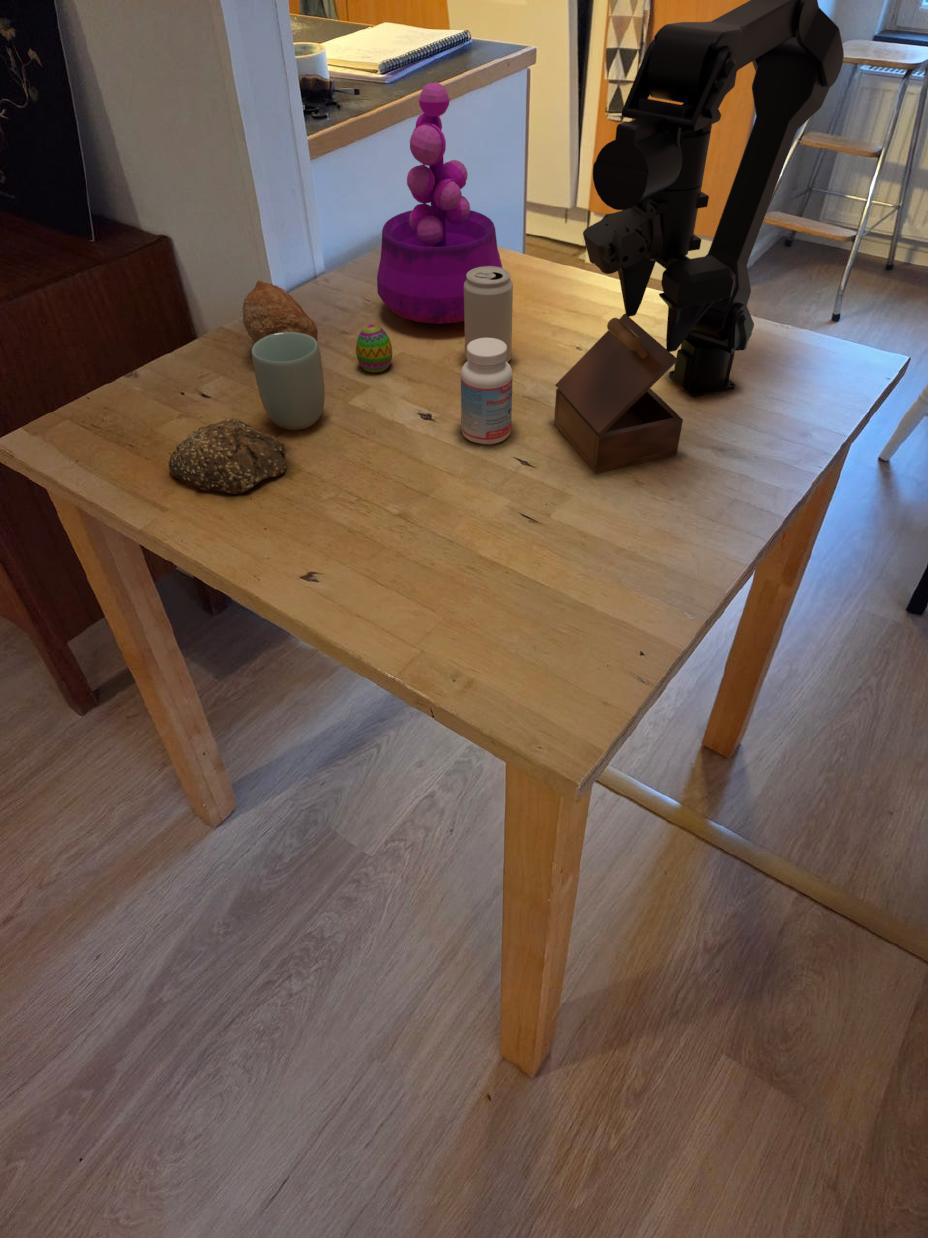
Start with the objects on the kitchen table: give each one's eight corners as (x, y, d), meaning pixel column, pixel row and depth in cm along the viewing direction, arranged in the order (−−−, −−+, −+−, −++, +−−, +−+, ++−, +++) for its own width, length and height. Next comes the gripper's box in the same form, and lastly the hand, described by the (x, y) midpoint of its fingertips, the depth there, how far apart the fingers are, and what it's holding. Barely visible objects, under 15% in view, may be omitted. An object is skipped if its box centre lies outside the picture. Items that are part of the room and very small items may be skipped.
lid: (627, 316, 98) (609, 294, 96) (678, 360, 90) (660, 338, 88) (557, 387, 102) (538, 368, 99) (601, 436, 94) (581, 417, 91)
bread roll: (156, 473, 98) (144, 436, 95) (233, 426, 106) (224, 390, 102) (235, 510, 93) (225, 472, 90) (310, 457, 100) (304, 420, 97)
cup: (340, 412, 108) (330, 338, 101) (307, 443, 102) (294, 367, 96) (288, 400, 110) (275, 326, 103) (253, 429, 105) (237, 354, 98)
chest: (630, 407, 107) (634, 372, 104) (676, 455, 100) (683, 419, 96) (553, 423, 105) (556, 388, 102) (595, 473, 97) (599, 437, 94)
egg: (364, 378, 114) (360, 336, 110) (353, 362, 117) (348, 321, 113) (398, 370, 115) (395, 328, 111) (386, 355, 118) (382, 314, 114)
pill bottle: (495, 451, 101) (496, 364, 93) (452, 437, 103) (449, 350, 95) (520, 428, 104) (523, 342, 96) (478, 414, 107) (477, 329, 99)
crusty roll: (310, 331, 124) (300, 262, 117) (326, 370, 116) (316, 298, 109) (245, 340, 122) (231, 271, 115) (256, 381, 114) (241, 309, 107)
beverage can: (507, 373, 114) (509, 285, 106) (460, 369, 115) (459, 282, 107) (514, 351, 119) (517, 265, 110) (469, 348, 120) (468, 262, 111)
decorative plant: (504, 340, 121) (508, 100, 100) (375, 341, 122) (352, 102, 101) (501, 285, 135) (505, 64, 114) (385, 286, 135) (367, 66, 114)
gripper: (558, 163, 87) (549, 310, 98) (646, 224, 75) (625, 384, 86) (653, 151, 90) (634, 295, 101) (754, 207, 77) (720, 365, 88)
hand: (650, 332), depth 94 cm, fingers open, 9 cm apart
